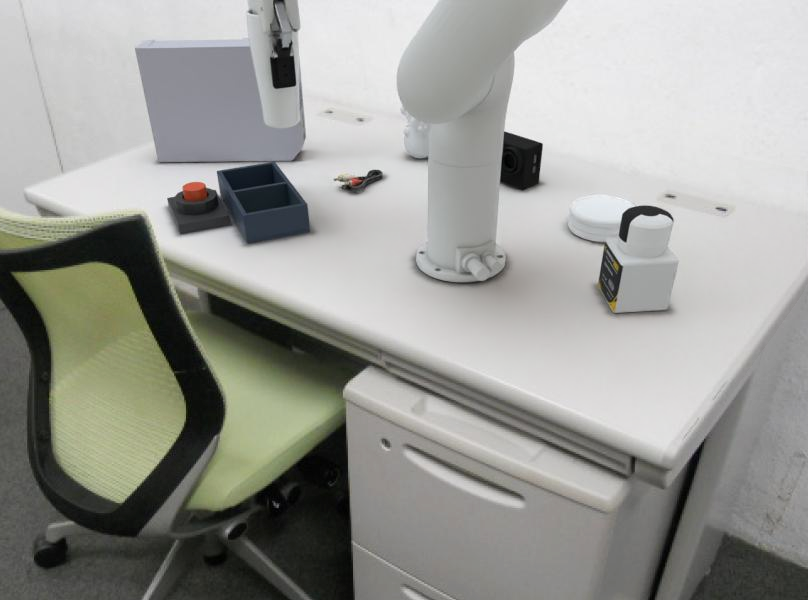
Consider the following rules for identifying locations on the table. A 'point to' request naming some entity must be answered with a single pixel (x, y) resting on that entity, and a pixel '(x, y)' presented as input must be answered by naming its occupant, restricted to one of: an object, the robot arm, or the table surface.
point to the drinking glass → (275, 103)
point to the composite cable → (358, 180)
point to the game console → (210, 103)
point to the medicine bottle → (639, 262)
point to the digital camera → (520, 161)
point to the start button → (194, 191)
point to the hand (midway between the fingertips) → (277, 78)
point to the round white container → (597, 216)
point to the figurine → (416, 136)
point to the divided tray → (263, 202)
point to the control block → (198, 212)
